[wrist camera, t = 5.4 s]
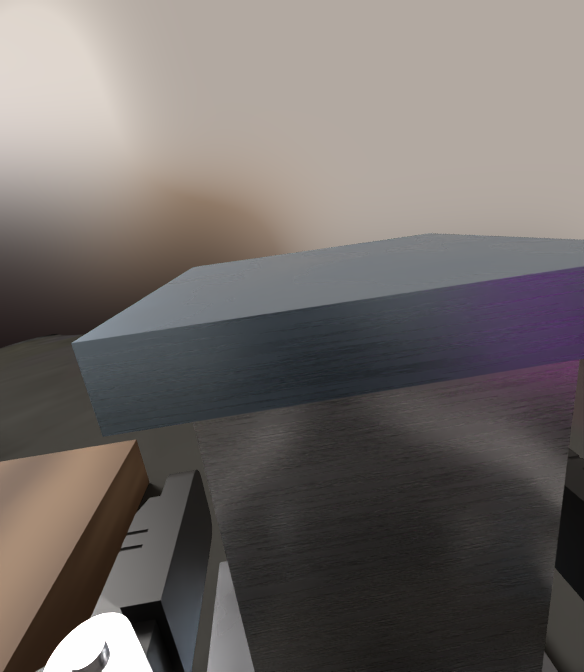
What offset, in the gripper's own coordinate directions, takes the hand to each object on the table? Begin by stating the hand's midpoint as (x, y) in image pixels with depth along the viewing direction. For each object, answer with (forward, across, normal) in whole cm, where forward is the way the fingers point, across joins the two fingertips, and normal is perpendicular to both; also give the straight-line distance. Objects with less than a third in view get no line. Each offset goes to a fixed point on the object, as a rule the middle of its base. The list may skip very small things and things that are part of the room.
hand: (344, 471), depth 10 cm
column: (-2, 0, +6) cm, 6 cm away
